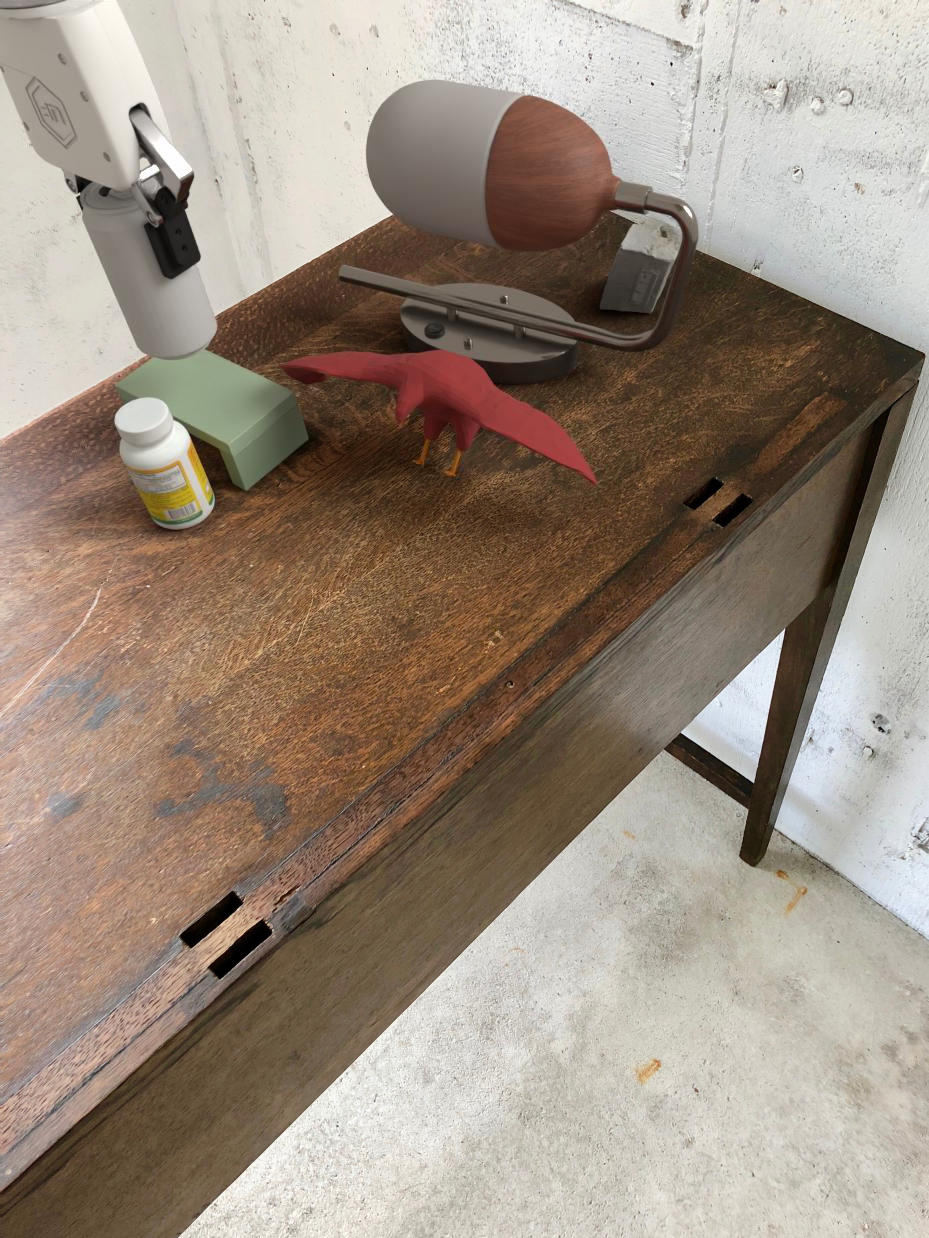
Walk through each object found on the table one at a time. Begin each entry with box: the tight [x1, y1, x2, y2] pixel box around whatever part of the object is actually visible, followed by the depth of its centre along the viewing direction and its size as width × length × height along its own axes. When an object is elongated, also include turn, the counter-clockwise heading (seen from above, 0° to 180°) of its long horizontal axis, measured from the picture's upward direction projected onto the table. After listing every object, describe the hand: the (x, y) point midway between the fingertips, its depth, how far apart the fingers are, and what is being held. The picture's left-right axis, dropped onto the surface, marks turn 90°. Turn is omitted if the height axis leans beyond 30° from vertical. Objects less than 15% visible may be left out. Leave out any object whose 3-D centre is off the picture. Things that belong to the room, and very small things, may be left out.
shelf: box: [113, 348, 310, 492], centre depth 81 cm, size 14×8×5 cm, turn 54°
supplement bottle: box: [113, 398, 216, 531], centre depth 74 cm, size 5×5×10 cm
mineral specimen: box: [599, 215, 682, 314], centre depth 87 cm, size 7×9×8 cm
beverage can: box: [79, 169, 218, 360], centre depth 70 cm, size 6×6×12 cm
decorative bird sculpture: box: [278, 350, 599, 487], centre depth 76 cm, size 28×9×15 cm
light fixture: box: [338, 79, 700, 385], centre depth 79 cm, size 11×22×34 cm
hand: (149, 252), depth 69 cm, fingers closed on beverage can, 6 cm apart
